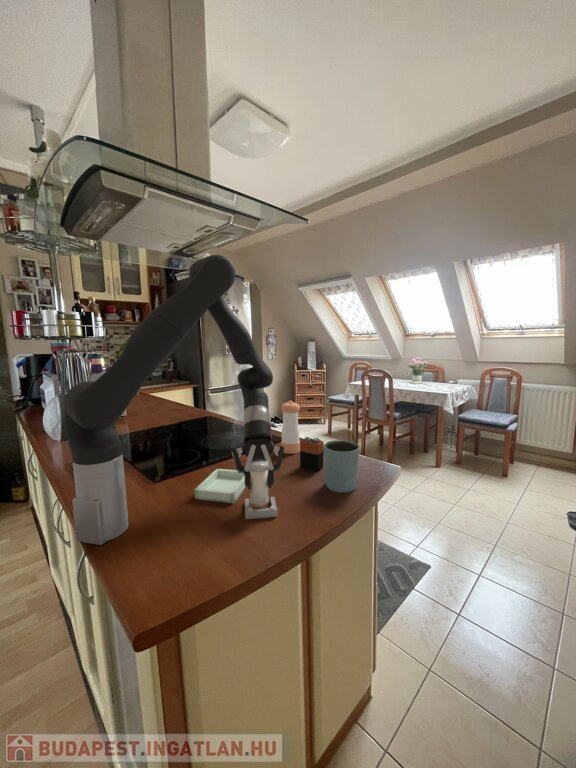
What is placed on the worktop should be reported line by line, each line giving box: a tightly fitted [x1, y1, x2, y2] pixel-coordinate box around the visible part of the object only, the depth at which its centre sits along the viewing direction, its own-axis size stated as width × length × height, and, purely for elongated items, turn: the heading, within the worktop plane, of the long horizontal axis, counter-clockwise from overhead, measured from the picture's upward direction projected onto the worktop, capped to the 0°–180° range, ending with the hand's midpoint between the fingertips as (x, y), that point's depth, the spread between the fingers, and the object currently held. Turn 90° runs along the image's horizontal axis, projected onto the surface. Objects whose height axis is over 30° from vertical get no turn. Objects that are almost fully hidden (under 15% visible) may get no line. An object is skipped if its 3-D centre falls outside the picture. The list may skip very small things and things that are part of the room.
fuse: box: [249, 460, 270, 507], centre depth 78 cm, size 5×5×10 cm
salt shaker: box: [280, 400, 301, 455], centre depth 119 cm, size 7×7×19 cm
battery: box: [299, 436, 325, 472], centre depth 104 cm, size 4×7×10 cm, turn 57°
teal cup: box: [323, 440, 360, 494], centre depth 91 cm, size 10×10×12 cm
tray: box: [193, 468, 247, 504], centre depth 90 cm, size 14×11×3 cm
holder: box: [244, 496, 278, 520], centre depth 79 cm, size 7×8×2 cm
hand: (259, 487), depth 77 cm, fingers closed on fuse, 4 cm apart
